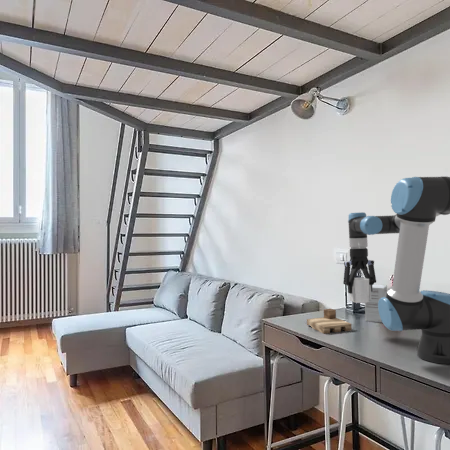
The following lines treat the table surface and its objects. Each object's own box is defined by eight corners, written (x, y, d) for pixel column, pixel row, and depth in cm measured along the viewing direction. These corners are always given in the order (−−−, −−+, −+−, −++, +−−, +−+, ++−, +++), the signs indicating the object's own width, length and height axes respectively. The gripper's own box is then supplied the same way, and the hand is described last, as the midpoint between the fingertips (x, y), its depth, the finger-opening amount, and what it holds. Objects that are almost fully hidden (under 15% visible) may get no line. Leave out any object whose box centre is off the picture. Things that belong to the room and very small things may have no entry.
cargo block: (336, 318, 196) (335, 309, 196) (329, 319, 194) (329, 310, 194) (330, 316, 199) (330, 308, 199) (323, 317, 197) (323, 309, 197)
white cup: (367, 300, 182) (366, 277, 182) (372, 303, 174) (371, 279, 174) (349, 300, 183) (348, 278, 183) (353, 303, 175) (352, 280, 175)
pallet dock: (351, 330, 184) (351, 323, 184) (323, 333, 181) (323, 326, 181) (332, 322, 200) (332, 316, 200) (307, 325, 196) (306, 319, 196)
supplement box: (369, 317, 208) (368, 284, 208) (388, 318, 204) (387, 284, 204) (365, 321, 200) (363, 286, 200) (384, 323, 195) (383, 287, 195)
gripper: (373, 246, 185) (375, 297, 185) (333, 248, 180) (335, 300, 179) (384, 247, 178) (386, 299, 178) (342, 249, 172) (344, 303, 172)
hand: (360, 300), depth 179 cm, fingers closed on white cup, 8 cm apart
